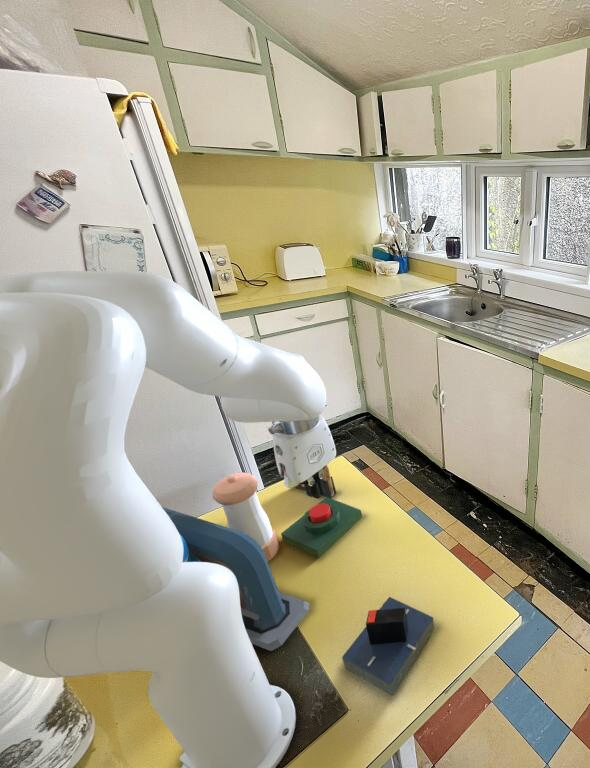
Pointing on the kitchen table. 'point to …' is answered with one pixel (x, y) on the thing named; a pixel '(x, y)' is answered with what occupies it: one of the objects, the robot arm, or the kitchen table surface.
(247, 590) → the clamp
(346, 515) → the box
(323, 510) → the release button
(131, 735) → the kitchen table surface
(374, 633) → the switch handle
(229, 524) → the salt shaker
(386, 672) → the switch base
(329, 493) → the ammunition clip
